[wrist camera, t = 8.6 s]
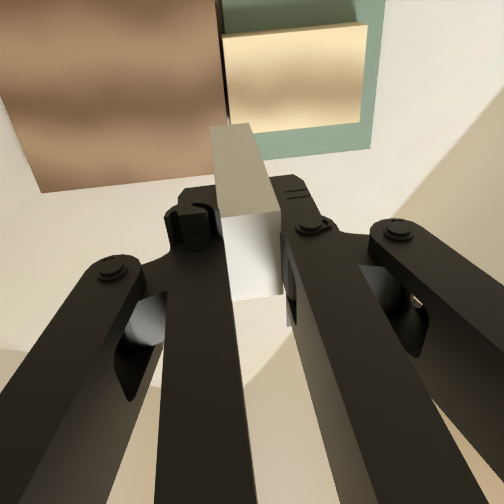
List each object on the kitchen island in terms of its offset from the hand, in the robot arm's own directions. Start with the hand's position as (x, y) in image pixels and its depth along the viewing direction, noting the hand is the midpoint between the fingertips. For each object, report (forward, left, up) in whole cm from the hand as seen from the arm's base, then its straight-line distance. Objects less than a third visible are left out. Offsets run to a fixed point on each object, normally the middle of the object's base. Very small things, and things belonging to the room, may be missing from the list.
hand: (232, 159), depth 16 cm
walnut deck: (0, -7, -15) cm, 16 cm away
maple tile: (0, +5, -15) cm, 15 cm away
